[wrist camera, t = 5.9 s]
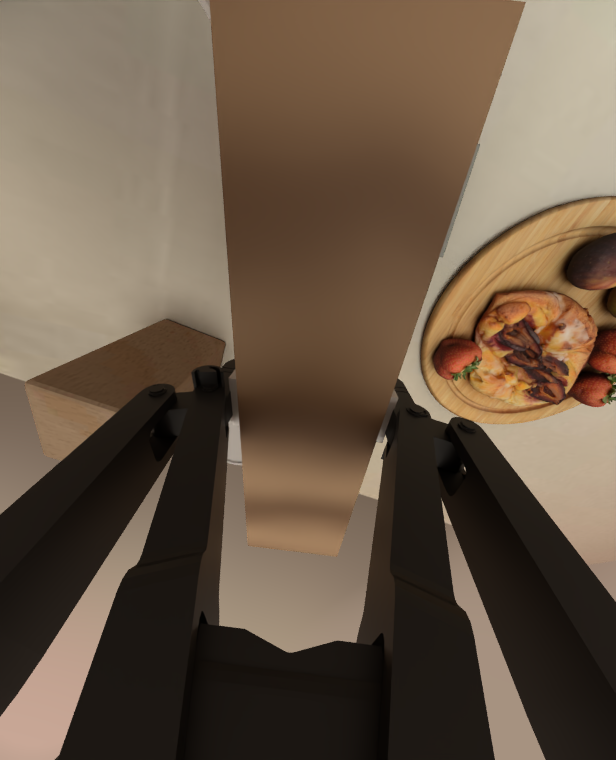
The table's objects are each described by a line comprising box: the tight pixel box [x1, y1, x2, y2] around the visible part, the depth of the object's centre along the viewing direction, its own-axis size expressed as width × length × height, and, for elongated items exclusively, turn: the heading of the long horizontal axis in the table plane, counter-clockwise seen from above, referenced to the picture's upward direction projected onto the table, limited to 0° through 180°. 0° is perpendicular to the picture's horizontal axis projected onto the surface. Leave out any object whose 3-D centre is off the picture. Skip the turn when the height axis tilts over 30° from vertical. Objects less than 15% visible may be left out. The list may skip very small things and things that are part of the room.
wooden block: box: [25, 320, 225, 461], centre depth 31 cm, size 10×10×20 cm
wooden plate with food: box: [421, 196, 616, 424], centre depth 31 cm, size 32×32×8 cm
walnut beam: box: [209, 0, 526, 556], centre depth 13 cm, size 22×6×8 cm, turn 174°
